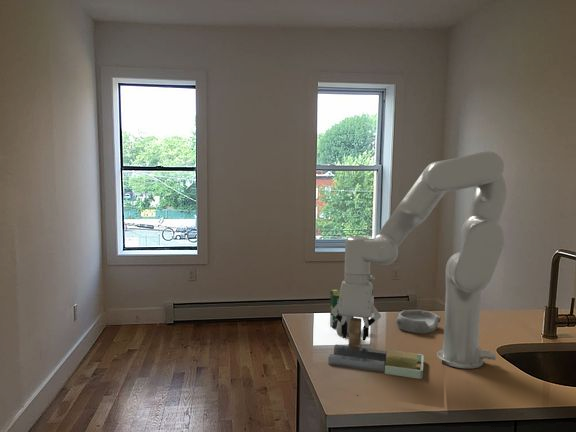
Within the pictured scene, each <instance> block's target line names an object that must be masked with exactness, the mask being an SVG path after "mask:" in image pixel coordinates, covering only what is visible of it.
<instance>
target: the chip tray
mask: <svg viewBox="0 0 576 432" xmlns="http://www.w3.org/2000/svg"><path fill="white" fill-rule="evenodd" d="M399 352H401V351H399ZM416 354H417V363H418V362H419V363H420V369H417V370H416V369H409V368H401V367H394V366H387V365H386V364H385V368H384V374H385V375H391V376H399V377H406V378H412V379H421V380H423V376H424V356H425V355H424V354H423V353H422V354H421V353H416Z"/></svg>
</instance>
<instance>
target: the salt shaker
mask: <svg viewBox="0 0 576 432" xmlns="http://www.w3.org/2000/svg"><path fill="white" fill-rule="evenodd" d="M341 316H342V317H343V315H341ZM351 317H352V316H348V317H347V319H346V321H347V323H348V327H347V336H346V337H349V325H350V319H351ZM335 330H336V334H337V335H338V336H340V337H343V334H341V330H342V325H341V323H340V322H339V320H338V323H337V328H335Z"/></svg>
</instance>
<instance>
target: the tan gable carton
mask: <svg viewBox="0 0 576 432" xmlns="http://www.w3.org/2000/svg"><path fill="white" fill-rule="evenodd" d="M361 336H362V318H361V317H354V318H352V317H351V319H350V325H349V336H348V345H347V346H351V347H359V348H362V337H361Z"/></svg>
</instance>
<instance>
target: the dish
mask: <svg viewBox="0 0 576 432" xmlns="http://www.w3.org/2000/svg"><path fill="white" fill-rule="evenodd" d="M441 319H442V318H441V316H440V315H438V314H436V313H434V312H431V311H429V310H421V309H407V310H405V309H404V310H402V311H399V312H398V315H397V317H396V319H395V323H396V325H397V327H398V329H401V330H402V331H404V332H408V333H414V334H429V333H433V332H435V331H436V330H437V328H438V325H439V323H441Z"/></svg>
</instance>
